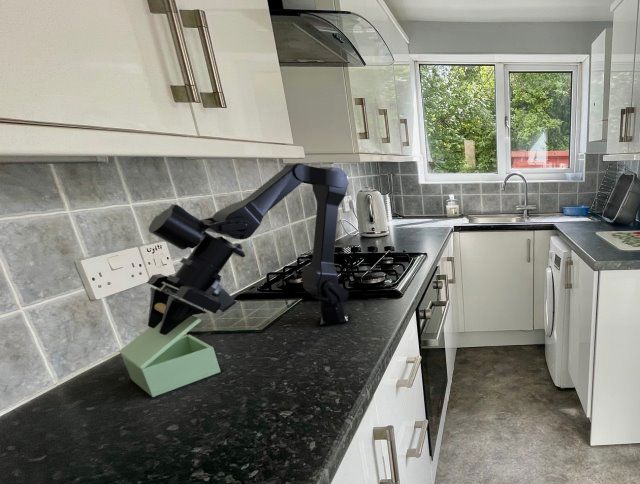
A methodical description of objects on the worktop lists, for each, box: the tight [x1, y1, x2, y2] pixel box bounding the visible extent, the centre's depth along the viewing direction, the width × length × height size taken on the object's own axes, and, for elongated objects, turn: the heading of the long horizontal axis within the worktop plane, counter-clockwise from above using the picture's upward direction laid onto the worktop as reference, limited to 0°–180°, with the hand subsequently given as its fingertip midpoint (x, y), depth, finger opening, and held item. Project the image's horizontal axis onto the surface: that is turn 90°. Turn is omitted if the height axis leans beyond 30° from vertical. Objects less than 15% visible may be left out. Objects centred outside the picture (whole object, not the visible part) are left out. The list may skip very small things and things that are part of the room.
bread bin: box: [120, 334, 221, 398], centre depth 82 cm, size 11×11×6 cm
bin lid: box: [118, 303, 202, 369], centre depth 78 cm, size 12×11×4 cm
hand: (156, 330), depth 78 cm, fingers open, 6 cm apart
